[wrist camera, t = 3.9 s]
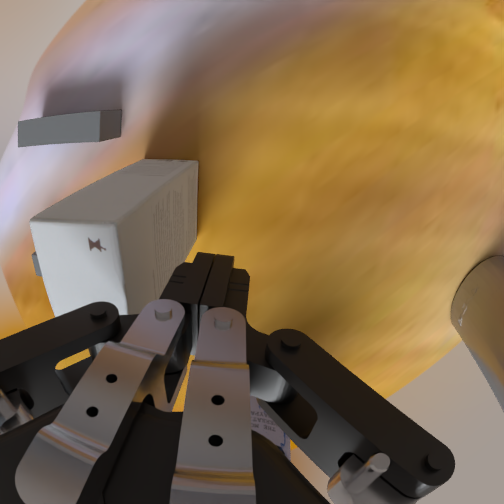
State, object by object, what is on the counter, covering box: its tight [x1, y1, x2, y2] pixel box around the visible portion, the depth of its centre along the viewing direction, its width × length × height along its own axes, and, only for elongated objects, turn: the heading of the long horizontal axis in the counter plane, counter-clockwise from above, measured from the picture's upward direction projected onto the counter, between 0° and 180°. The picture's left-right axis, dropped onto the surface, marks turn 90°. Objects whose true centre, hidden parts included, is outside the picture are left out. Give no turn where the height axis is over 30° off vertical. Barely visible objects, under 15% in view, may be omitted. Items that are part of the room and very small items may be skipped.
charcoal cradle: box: [18, 110, 122, 276], centre depth 19 cm, size 8×13×3 cm, turn 174°
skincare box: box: [30, 159, 199, 317], centre depth 15 cm, size 6×4×12 cm
